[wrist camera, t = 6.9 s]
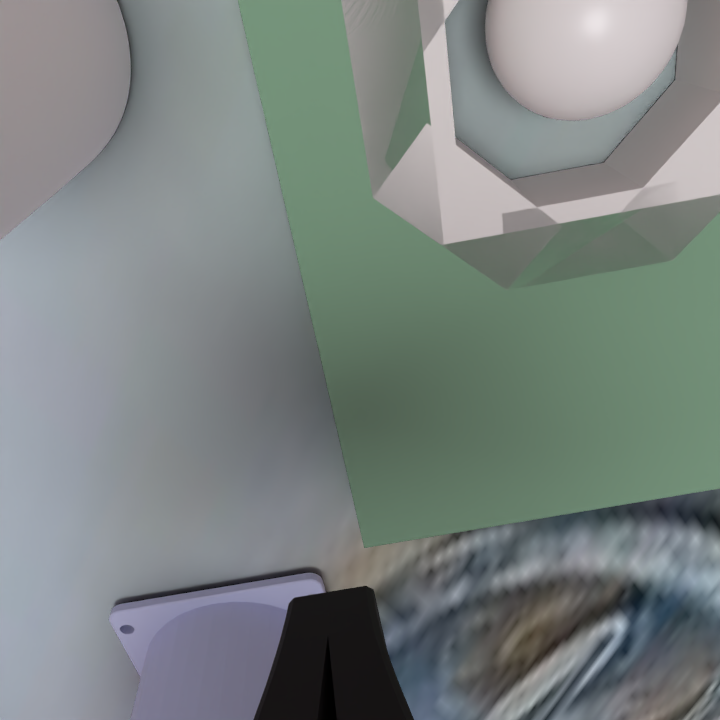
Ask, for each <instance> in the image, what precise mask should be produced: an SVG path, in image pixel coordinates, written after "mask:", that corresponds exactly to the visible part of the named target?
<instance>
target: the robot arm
mask: <svg viewBox="0 0 720 720" xmlns="http://www.w3.org/2000/svg"><path fill="white" fill-rule="evenodd" d="M309 594H313V595H309ZM109 621H110V624H111V625H112V627H113V629H114V631H115V633H116V634H117V636H118V638H119V640H120V642H121V643H122V645H123V647H124V649H125V651H126V652H127V654H128V656H129V658H130V660H131V662H132V663H133V665H134V667H135V669H136V671H137V672H138V674H139V676H140V682H139V686H138V690H137V694H136V699H135V703H134V707H133V711H132V715H131V719H130V720H414V719H413V716H412V714H411V712H410V709H409V707H408V704H407V702H406V699H405V697H404V694H403V692H402V690H401V687H400V685H399V682H398V680H397V677H396V675H395V672H394V669H393V666H392V664H391V661H390V658H389V655H388V652H387V648H386V643H385V639H384V635H383V630H382V626H381V621H380V617H379V612H378V608H377V603H376V599H375V594H374V590H373V589H371V588H369V587H367V586H363V587H356V588H350V589H344V590H338V591H332V592H326V590H325V587H324V584H323V580H322V578H321V577H320V576H319V575H317V574H314V573H303V574H297V575H291V576H285V577H279V578H273V579H267V580H261V581H255V582H249V583H243V584H237V585H231V586H225V587H219V588H213V589H207V590H201V591H195V592H189V593H183V594H177V595H171V596H165V597H159V598H153V599H147V600H141V601H135V602H129V603H123V604H119V605H116V606H114V607H113V608H112V610H111V613H110V616H109Z"/></svg>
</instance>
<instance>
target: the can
mask: <svg viewBox="0 0 720 720" xmlns="http://www.w3.org/2000/svg"><path fill="white" fill-rule="evenodd" d="M130 78H131V59H130V48H129V42H128V36H127V31H126V27H125V23H124V20H123V16H122V13H121V10H120V8H119V5H118V2H117V0H0V240H1V239H2V238H4V237H5V236H6V235H7V234H8V233H9V232H11V231H12V230H13V229H14V228H15V227H17V226H18V225H19V224H20V223H21V222H22V221H24V220H25V219H26V218H27V217H28V216H29V215H31V214H32V213H33V212H34V211H35V210H36V209H38V208H39V207H40V206H41V205H42V204H43V203H45V202H46V201H47V200H48V199H49V198H51V197H52V196H53V195H54V194H55V193H56V192H57V191H59V190H60V189H61V188H62V187H63V186H64V185H66V184H67V183H68V182H69V181H70V180H71V179H73V178H74V177H75V176H76V175H77V174H78V173H79V172H80V171H82V170H83V169H84V168H85V167H86V166H87V165H88V164H89V163H90V162H91V161H92V160H93V159H94V158H95V157H96V156H97V155H98V154H99V153H100V152H101V151H102V150H103V149H104V147H105V146H106V145H107V144H108V142H109V141H110V139H111V138H112V136H113V135H114V133H115V131H116V129H117V127H118V125H119V123H120V121H121V119H122V116H123V113H124V110H125V107H126V103H127V99H128V94H129V88H130Z"/></svg>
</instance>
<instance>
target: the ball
mask: <svg viewBox="0 0 720 720" xmlns="http://www.w3.org/2000/svg"><path fill="white" fill-rule="evenodd" d="M687 3H688V0H488V5H487V10H486V19H485V37H486V47H487V52H488V56H489V59H490V62H491V65H492V68H493V70H494V72H495V75H496V76H497V78H498V80H499V81H500V83H501V84H502V86H503V88H504V89H505V90H506V91H507V92H508V93H509V95H510V96H512V97H513V98H514V99H515V100H516V101H517V102H518V103H519V104H521V105H522V106H524V107H525V108H527V109H528V110H530V111H532V112H534V113H536V114H538V115H541V116H544V117H547V118H552V119H556V120H566V121H579V120H587V119H592V118H596V117H600V116H603V115H605V114H608V113H611V112H613V111H615V110H617V109H619V108H621V107H623V106H625V105H626V104H628V103H629V102H631V101H632V100H634V99H635V98H636V97H638V96H639V95H640V94H641V93H642V92H644V91H645V90H646V89H647V88H648V87H649V86H650V85H651V84H652V83H653V82H654V81H655V80H656V79H657V77H658V76H659V75H660V74H661V72H662V71H663V70H664V68H665V67H666V65H667V64H668V62H669V61H670V59H671V57H672V55H673V53H674V51H675V49H676V47H677V45H678V43H679V40H680V36H681V33H682V30H683V27H684V24H685V18H686V11H687Z"/></svg>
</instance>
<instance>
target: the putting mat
mask: <svg viewBox="0 0 720 720" xmlns="http://www.w3.org/2000/svg"><path fill="white" fill-rule="evenodd" d="M458 1H459V0H238V3H239V8H240V12H241V16H242V21H243V25H244V29H245V34H246V38H247V42H248V47H249V51H250V55H251V59H252V64H253V68H254V72H255V77H256V81H257V85H258V90H259V94H260V98H261V103H262V107H263V111H264V116H265V120H266V124H267V129H268V133H269V137H270V142H271V146H272V150H273V155H274V159H275V163H276V168H277V172H278V176H279V181H280V185H281V189H282V194H283V198H284V202H285V207H286V211H287V215H288V220H289V224H290V228H291V233H292V237H293V241H294V246H295V250H296V254H297V259H298V263H299V267H300V272H301V276H302V280H303V285H304V289H305V293H306V298H307V302H308V306H309V311H310V315H311V319H312V324H313V328H314V332H315V337H316V341H317V345H318V349H319V354H320V358H321V362H322V367H323V371H324V375H325V380H326V384H327V388H328V393H329V397H330V401H331V406H332V410H333V414H334V419H335V423H336V427H337V432H338V436H339V440H340V445H341V449H342V453H343V458H344V462H345V466H346V471H347V475H348V479H349V484H350V488H351V492H352V497H353V501H354V505H355V510H356V514H357V518H358V523H359V527H360V531H361V536H362V540H363V544H364V548H367V547H373V546H379V545H385V544H391V543H397V542H403V541H409V540H415V539H421V538H427V537H433V536H439V535H445V534H451V533H457V532H463V531H469V530H475V529H481V528H487V527H493V526H499V525H504V524H510V523H516V522H522V521H528V520H534V519H540V518H546V517H552V516H558V515H564V514H570V513H576V512H582V511H588V510H594V509H600V508H606V507H612V506H618V505H624V504H630V503H636V502H641V501H647V500H653V499H659V498H665V497H671V496H677V495H683V494H689V493H695V492H701V491H707V490H713V489H719V488H720V0H688V3H687V11H686V18H685V24H684V27H683V30H682V33H681V36H680V40H679V43H678V48H677V62H676V76H675V80H674V82H673V83H672V84H671V85H670V86H669V87H668V89H667V90H666V91H665V92H664V93H663V94H662V96H661V97H660V98H659V99H658V100H657V101H656V103H655V104H654V105H653V106H652V107H651V108H650V110H649V111H648V112H647V113H646V114H645V115H644V117H643V118H642V119H641V120H640V121H639V122H638V123H637V125H636V126H635V127H634V128H633V129H632V130H631V132H630V133H629V134H628V135H627V136H626V137H625V139H624V140H623V141H622V142H621V143H620V144H619V146H618V147H617V148H616V149H615V150H614V151H613V153H612V154H611V155H610V156H609V157H608V158H607V159H606V161H605V162H604V163H599V164H594V165H588V166H583V167H578V168H572V169H567V170H561V171H556V172H550V173H545V174H540V175H534V176H529V177H523V178H518V179H512V180H510V179H509V178H508V177H506V176H505V175H504V174H502V173H501V172H500V171H499V170H497V169H496V168H495V167H493V166H492V165H491V164H489V163H488V162H487V161H486V160H484V159H483V158H482V157H480V156H479V155H478V154H476V153H475V152H474V151H473V150H471V149H470V148H469V147H467V146H466V145H465V144H463V143H462V142H461V141H460V140H458V139H457V138H456V137H455V129H454V118H453V107H452V97H451V86H450V75H449V64H448V53H447V42H446V31H445V20H446V18H447V17H448V15H449V14H450V13H451V11H452V10H453V8H454V7H455V5H456V4H457V2H458Z"/></svg>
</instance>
